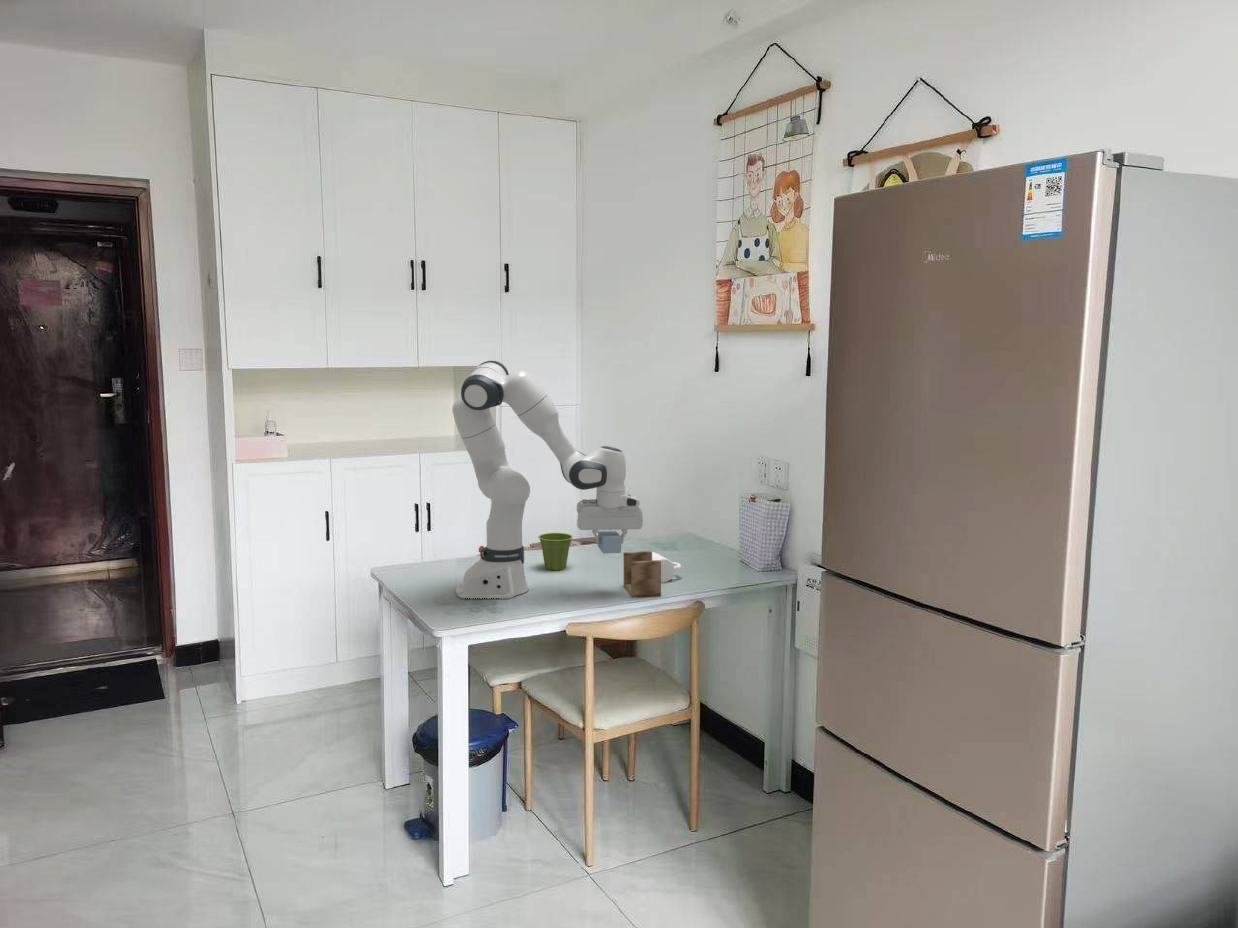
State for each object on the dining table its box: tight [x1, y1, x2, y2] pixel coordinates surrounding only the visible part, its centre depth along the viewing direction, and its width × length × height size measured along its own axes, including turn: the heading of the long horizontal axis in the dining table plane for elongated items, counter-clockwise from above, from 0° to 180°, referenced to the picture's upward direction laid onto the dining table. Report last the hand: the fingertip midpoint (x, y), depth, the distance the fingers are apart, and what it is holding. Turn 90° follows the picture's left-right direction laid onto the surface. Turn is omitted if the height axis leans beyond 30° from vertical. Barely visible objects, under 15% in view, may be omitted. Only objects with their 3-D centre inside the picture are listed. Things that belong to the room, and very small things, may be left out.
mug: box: [652, 551, 682, 584], centre depth 298 cm, size 12×10×8 cm
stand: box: [623, 550, 662, 599], centre depth 283 cm, size 9×14×11 cm, turn 11°
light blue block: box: [597, 530, 622, 554], centre depth 279 cm, size 6×10×5 cm, turn 12°
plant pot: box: [537, 532, 574, 571], centre depth 311 cm, size 12×12×11 cm
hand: (609, 543), depth 279 cm, fingers closed on light blue block, 5 cm apart
